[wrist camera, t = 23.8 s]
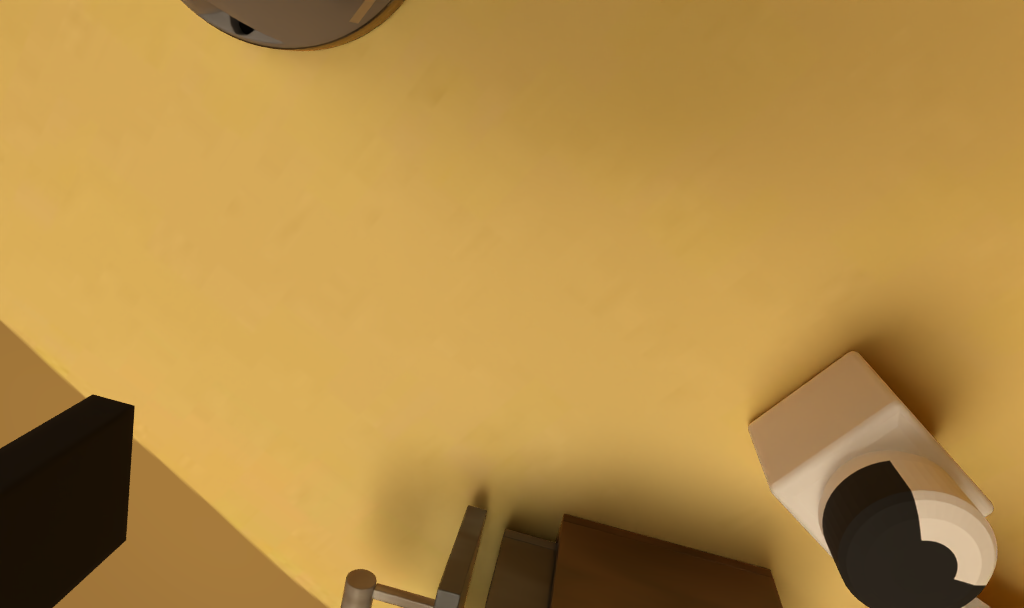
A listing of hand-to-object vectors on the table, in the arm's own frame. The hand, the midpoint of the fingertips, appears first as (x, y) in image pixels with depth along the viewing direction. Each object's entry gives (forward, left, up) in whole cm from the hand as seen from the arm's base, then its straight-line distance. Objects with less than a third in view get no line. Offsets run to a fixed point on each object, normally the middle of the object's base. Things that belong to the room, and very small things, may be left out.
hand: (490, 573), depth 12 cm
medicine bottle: (+16, +8, -29) cm, 34 cm away
